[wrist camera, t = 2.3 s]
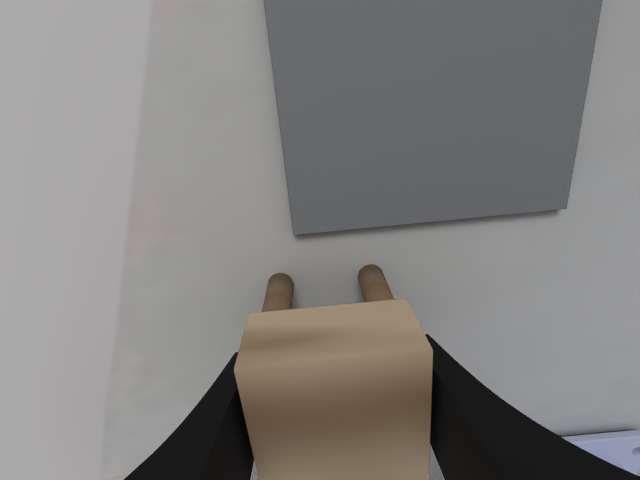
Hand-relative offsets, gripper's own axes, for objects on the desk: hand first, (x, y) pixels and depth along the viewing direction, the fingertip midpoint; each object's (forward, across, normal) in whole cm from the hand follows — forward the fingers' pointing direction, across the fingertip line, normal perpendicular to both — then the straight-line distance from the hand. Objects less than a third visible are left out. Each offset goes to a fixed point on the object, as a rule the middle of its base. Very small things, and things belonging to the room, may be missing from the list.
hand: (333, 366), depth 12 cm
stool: (+3, 0, 0) cm, 3 cm away
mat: (+3, -4, -9) cm, 10 cm away
